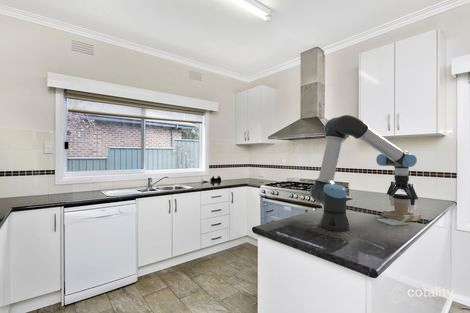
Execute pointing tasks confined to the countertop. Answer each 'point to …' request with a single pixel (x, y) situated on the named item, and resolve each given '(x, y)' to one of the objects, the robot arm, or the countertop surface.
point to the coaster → (392, 222)
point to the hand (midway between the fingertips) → (401, 207)
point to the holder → (403, 218)
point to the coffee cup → (401, 204)
